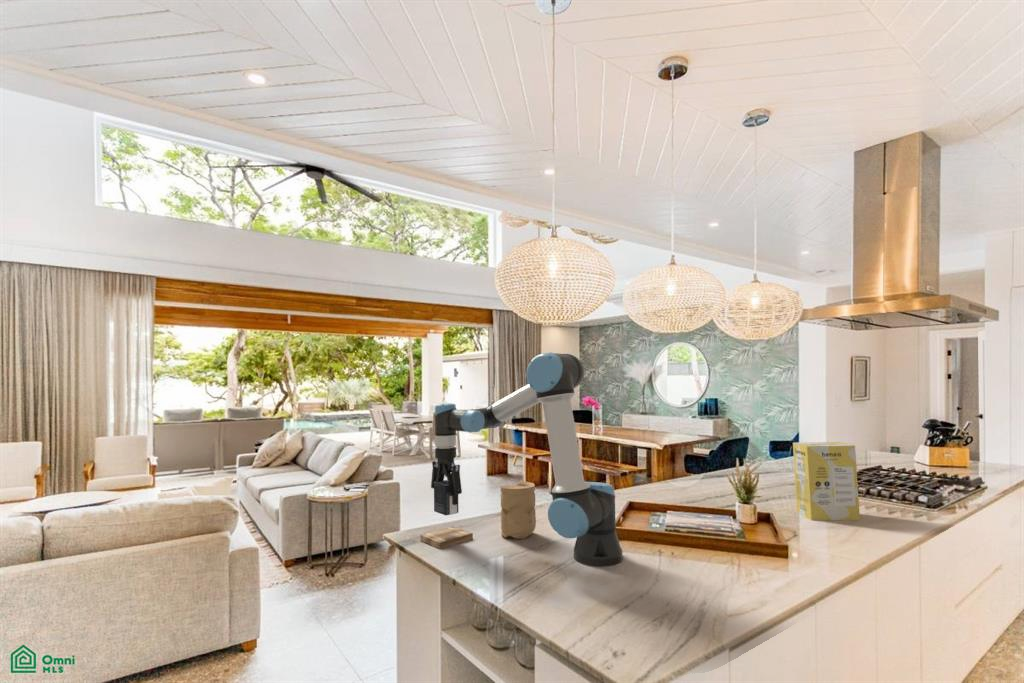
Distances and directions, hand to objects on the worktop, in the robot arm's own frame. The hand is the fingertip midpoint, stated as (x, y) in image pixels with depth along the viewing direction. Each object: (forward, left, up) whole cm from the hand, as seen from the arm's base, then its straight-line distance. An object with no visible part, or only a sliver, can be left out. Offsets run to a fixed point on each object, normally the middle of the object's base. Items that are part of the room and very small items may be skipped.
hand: (446, 511), depth 179 cm
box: (0, 0, -1) cm, 1 cm away
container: (-15, -21, -10) cm, 28 cm away
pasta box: (-86, -121, -10) cm, 149 cm away
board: (0, 0, -10) cm, 10 cm away
